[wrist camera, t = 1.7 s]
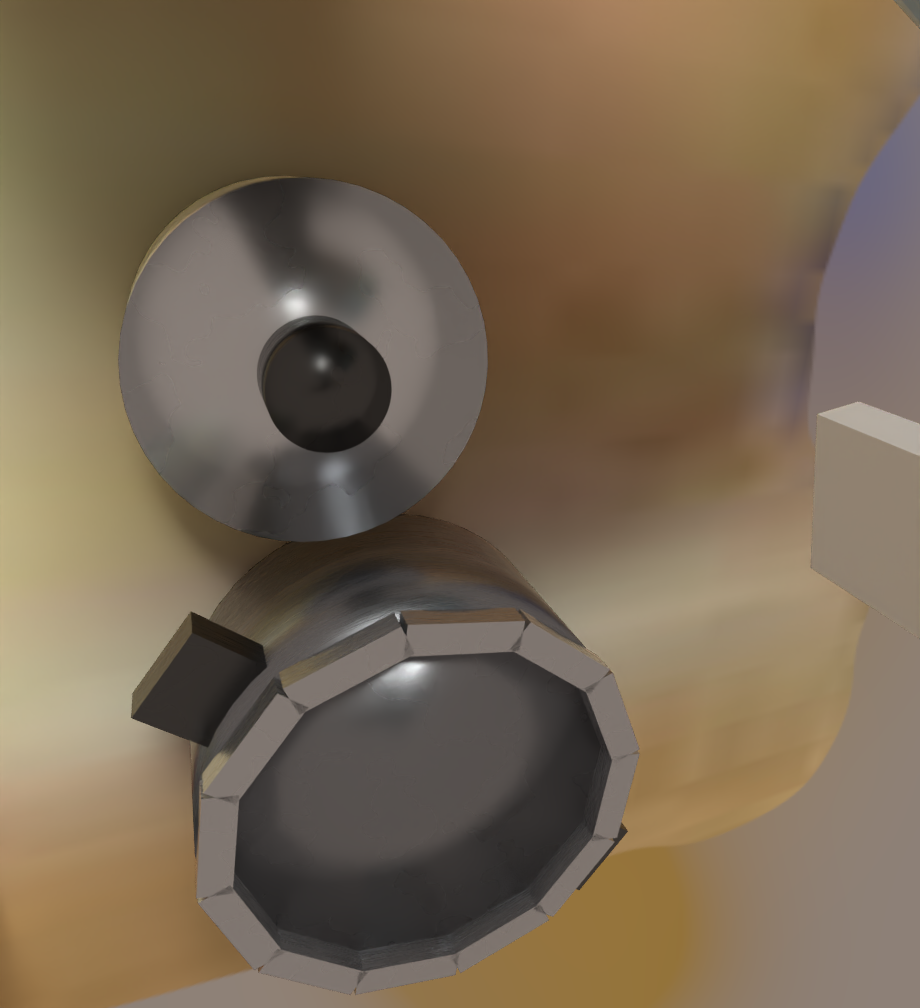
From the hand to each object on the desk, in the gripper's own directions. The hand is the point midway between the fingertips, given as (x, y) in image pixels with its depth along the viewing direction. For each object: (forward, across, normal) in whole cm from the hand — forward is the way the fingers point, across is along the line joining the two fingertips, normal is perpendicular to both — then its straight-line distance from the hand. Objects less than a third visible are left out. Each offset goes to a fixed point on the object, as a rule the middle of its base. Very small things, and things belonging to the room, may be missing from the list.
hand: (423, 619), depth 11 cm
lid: (+17, 0, 0) cm, 17 cm away
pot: (+16, 0, -13) cm, 21 cm away
